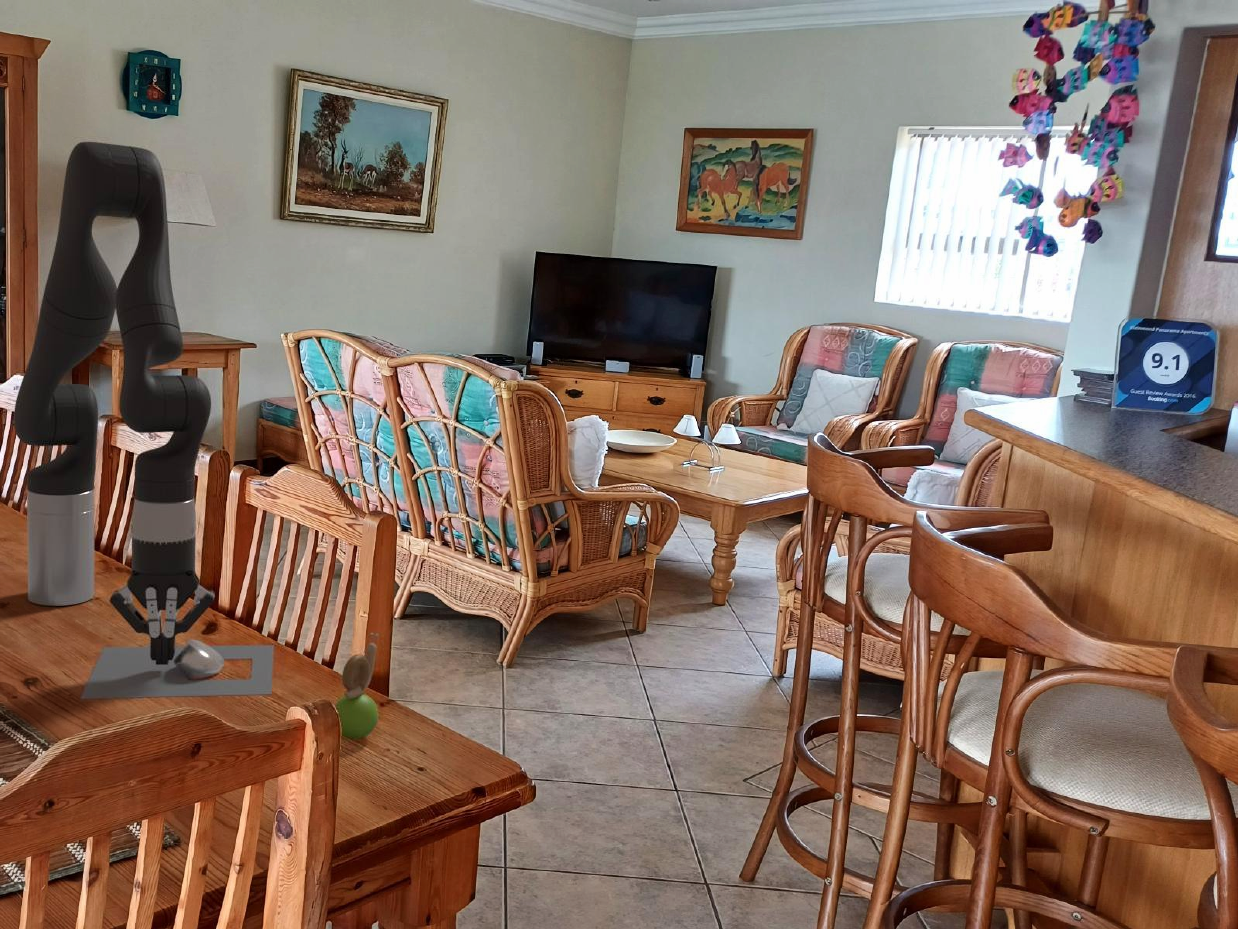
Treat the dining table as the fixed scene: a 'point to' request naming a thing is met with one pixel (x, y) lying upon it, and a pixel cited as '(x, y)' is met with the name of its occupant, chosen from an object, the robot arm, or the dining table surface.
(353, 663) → the green toy figure
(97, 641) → the dining table surface
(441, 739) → the dining table surface
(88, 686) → the charcoal board
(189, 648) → the silver rounded puck
